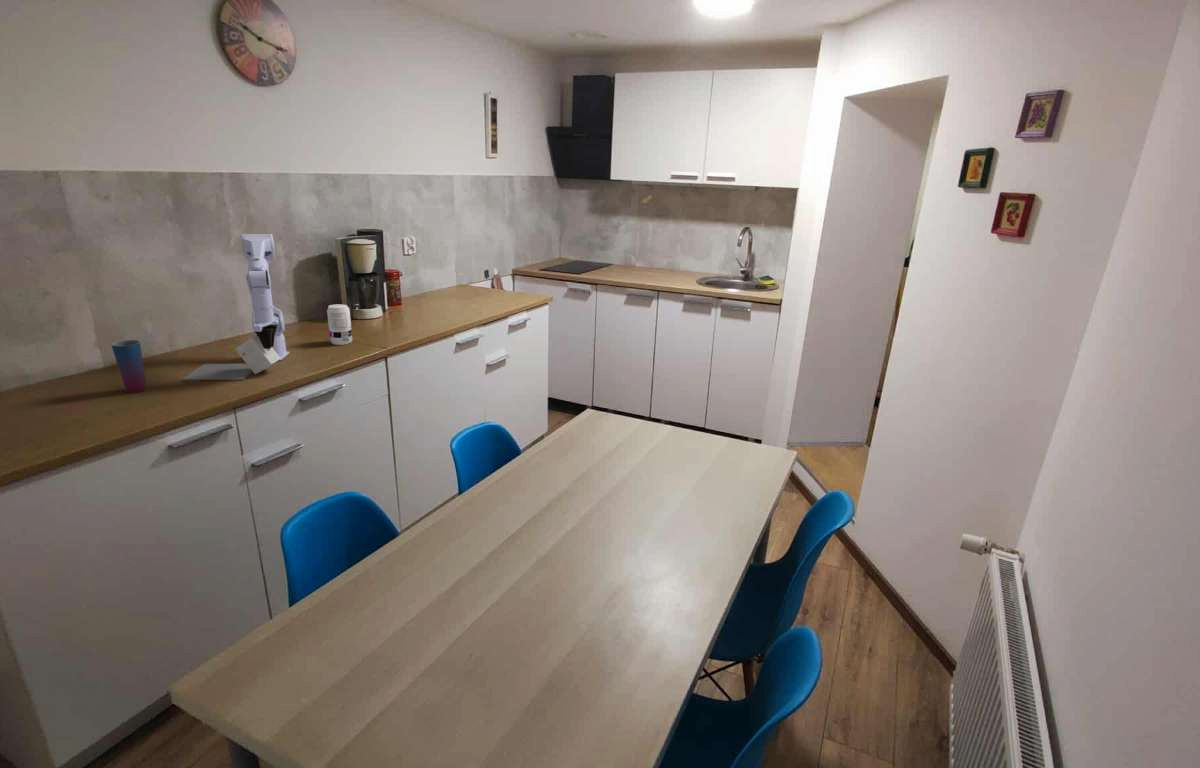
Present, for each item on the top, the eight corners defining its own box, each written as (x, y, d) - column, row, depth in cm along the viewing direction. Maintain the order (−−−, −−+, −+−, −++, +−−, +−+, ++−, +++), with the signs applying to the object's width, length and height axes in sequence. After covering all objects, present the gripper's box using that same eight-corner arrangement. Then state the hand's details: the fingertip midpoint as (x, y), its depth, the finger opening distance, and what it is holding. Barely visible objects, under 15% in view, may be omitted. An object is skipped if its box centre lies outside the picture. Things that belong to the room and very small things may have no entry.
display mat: (204, 365, 204) (204, 363, 204) (261, 365, 207) (260, 363, 207) (181, 380, 189) (181, 379, 189) (242, 380, 192) (242, 378, 192)
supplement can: (325, 343, 235) (321, 306, 230) (341, 338, 242) (338, 302, 237) (341, 346, 232) (337, 309, 227) (357, 341, 240) (353, 305, 234)
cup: (128, 395, 176) (117, 347, 171) (118, 390, 179) (106, 343, 174) (154, 389, 181) (144, 342, 176) (144, 384, 185) (133, 338, 180)
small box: (281, 359, 201) (261, 333, 199) (271, 364, 196) (250, 337, 194) (265, 369, 203) (245, 344, 201) (254, 375, 198) (234, 348, 196)
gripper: (267, 312, 187) (274, 353, 191) (283, 303, 200) (288, 342, 205) (243, 312, 186) (250, 353, 190) (260, 303, 199) (266, 342, 204)
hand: (268, 347), depth 197 cm, fingers closed
